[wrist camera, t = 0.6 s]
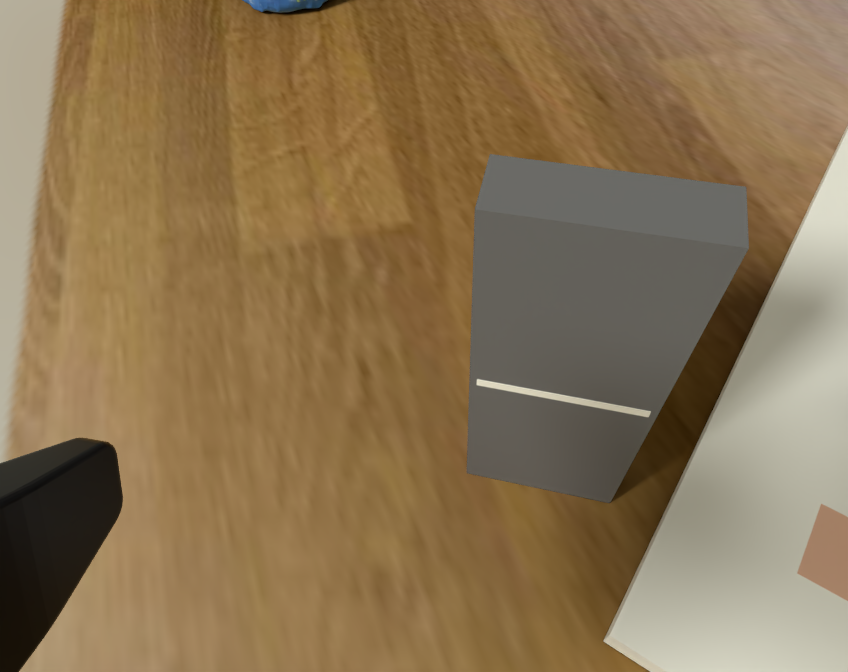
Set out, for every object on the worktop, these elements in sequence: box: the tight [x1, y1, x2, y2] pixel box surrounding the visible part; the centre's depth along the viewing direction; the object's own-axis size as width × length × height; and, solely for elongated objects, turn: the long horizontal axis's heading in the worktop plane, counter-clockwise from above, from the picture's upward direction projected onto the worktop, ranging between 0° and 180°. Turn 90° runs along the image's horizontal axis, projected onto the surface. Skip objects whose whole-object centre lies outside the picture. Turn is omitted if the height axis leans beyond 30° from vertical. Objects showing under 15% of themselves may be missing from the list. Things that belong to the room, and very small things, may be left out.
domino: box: [467, 154, 749, 503], centre depth 18 cm, size 2×5×13 cm, turn 76°
